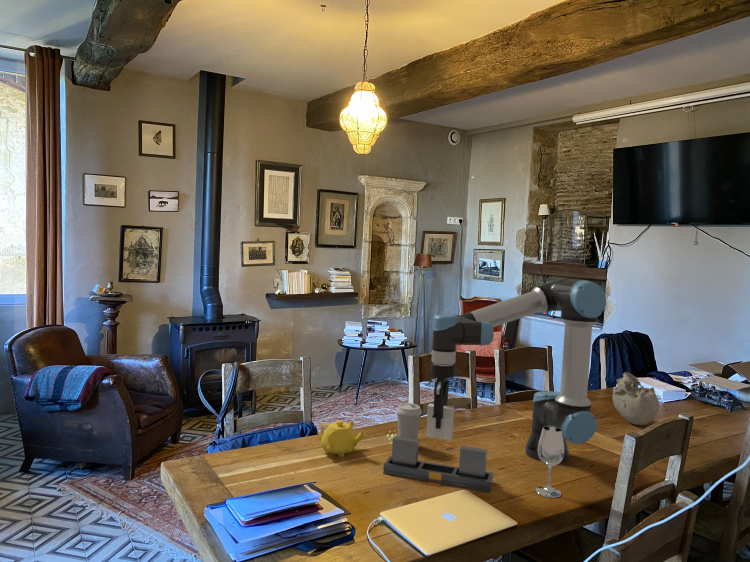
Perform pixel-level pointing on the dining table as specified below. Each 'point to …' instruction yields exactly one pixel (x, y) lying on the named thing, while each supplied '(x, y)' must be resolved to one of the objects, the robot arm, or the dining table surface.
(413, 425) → the coffee cup
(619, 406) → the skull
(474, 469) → the rack
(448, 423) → the panel
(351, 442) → the teapot
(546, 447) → the wineglass
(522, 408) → the dining table surface
